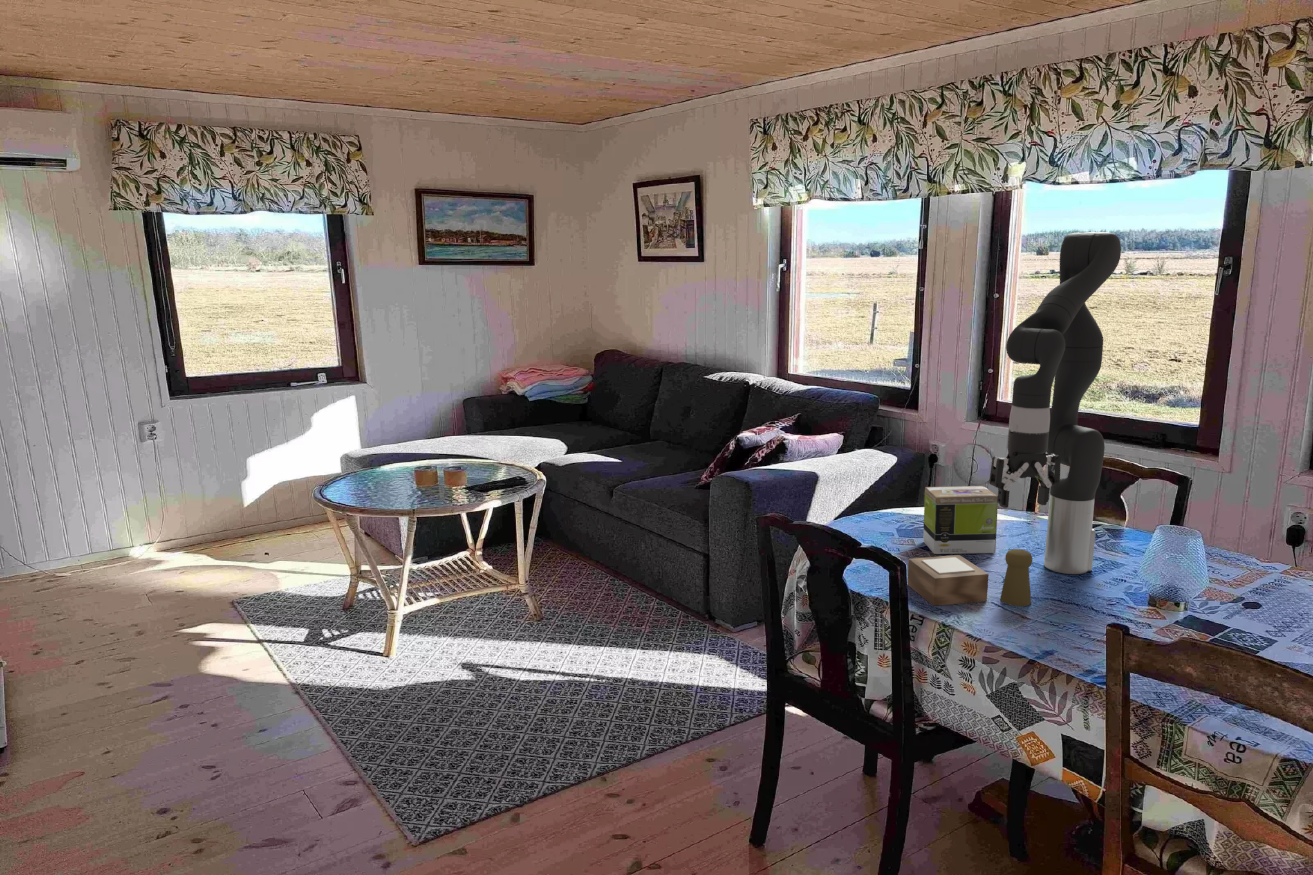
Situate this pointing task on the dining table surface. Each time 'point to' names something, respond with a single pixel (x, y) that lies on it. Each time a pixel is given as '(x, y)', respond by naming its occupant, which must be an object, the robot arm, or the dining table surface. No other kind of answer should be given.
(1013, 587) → the cork
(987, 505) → the tea box
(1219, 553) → the dining table surface
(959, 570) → the block
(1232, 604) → the dining table surface
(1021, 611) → the dining table surface
